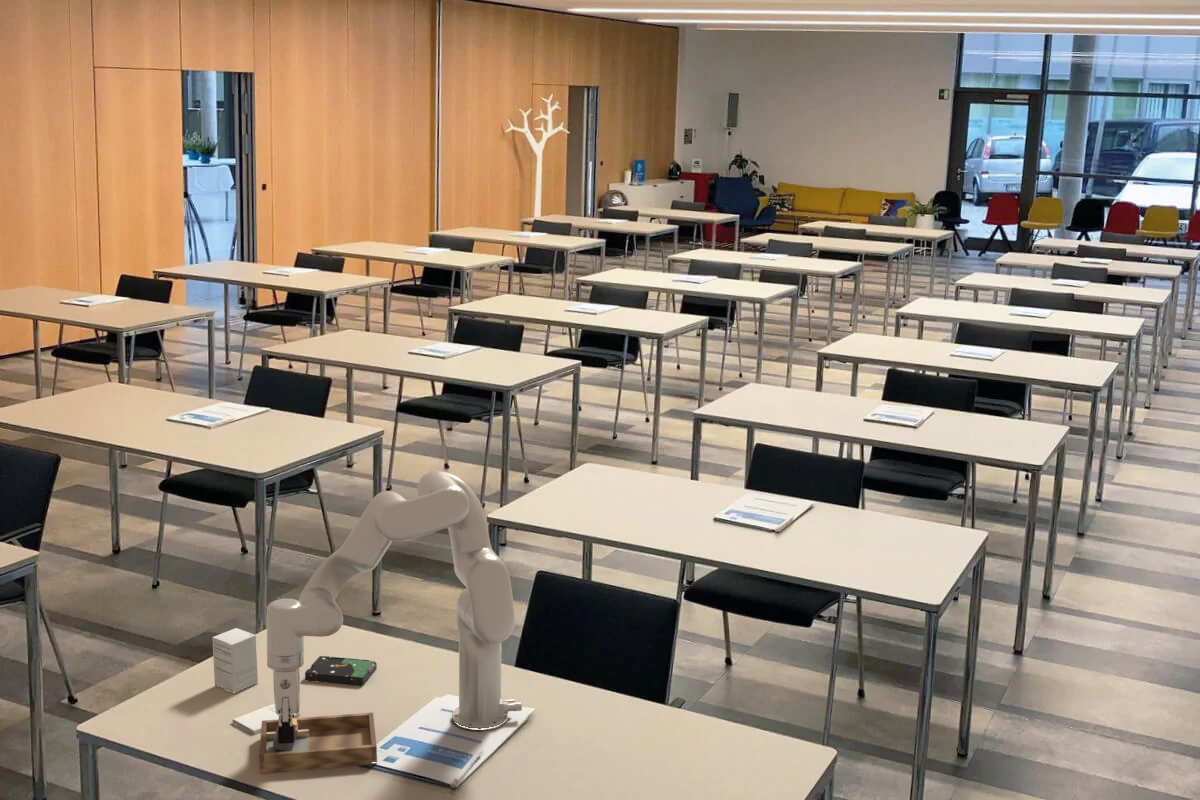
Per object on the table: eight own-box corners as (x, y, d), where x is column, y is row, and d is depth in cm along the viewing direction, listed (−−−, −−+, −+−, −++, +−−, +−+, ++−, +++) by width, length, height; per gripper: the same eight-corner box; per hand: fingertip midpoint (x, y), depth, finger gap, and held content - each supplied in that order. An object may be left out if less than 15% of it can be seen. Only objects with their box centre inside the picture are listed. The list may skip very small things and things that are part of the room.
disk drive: (304, 683, 316) (364, 687, 314) (304, 672, 316) (363, 677, 314) (319, 665, 326) (377, 669, 324) (319, 655, 326) (377, 659, 324)
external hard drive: (232, 725, 295) (278, 707, 304) (254, 737, 289) (300, 718, 299) (232, 718, 294) (278, 700, 304) (253, 730, 289) (300, 711, 298)
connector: (291, 743, 283) (299, 718, 282) (291, 752, 280) (299, 726, 279) (273, 739, 282) (280, 714, 281) (272, 748, 279) (280, 722, 278)
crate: (373, 728, 293) (373, 712, 292) (376, 763, 278) (376, 746, 277) (262, 737, 288) (261, 720, 287) (259, 773, 273) (259, 755, 272)
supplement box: (238, 675, 318) (236, 626, 316) (258, 684, 314) (256, 634, 311) (213, 686, 312) (211, 636, 310) (233, 694, 308) (231, 644, 305)
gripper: (303, 673, 270) (304, 755, 274) (304, 641, 286) (304, 718, 290) (265, 675, 268) (267, 757, 272) (268, 642, 284) (269, 720, 288)
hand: (286, 736), depth 281 cm, fingers closed on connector, 4 cm apart
